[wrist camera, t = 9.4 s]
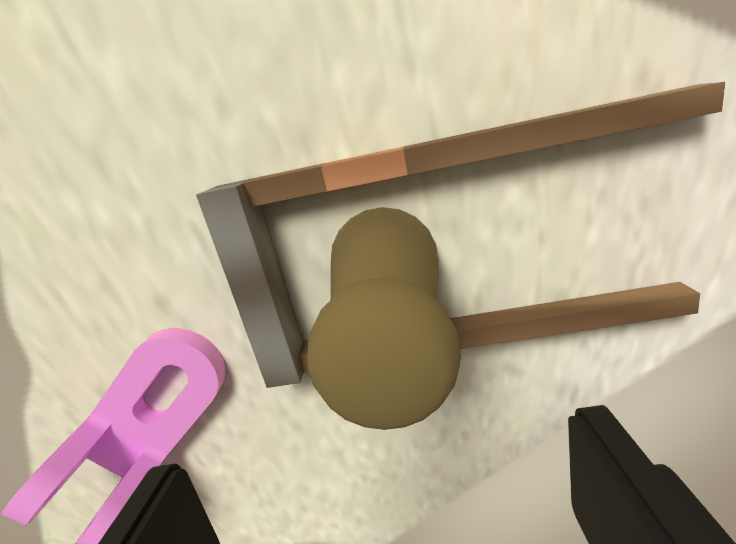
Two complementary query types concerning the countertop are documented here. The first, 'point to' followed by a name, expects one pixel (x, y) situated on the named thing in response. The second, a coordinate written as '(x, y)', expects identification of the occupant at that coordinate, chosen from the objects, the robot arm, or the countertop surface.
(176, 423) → the bracket
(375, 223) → the cork
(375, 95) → the countertop surface
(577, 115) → the guide channel
